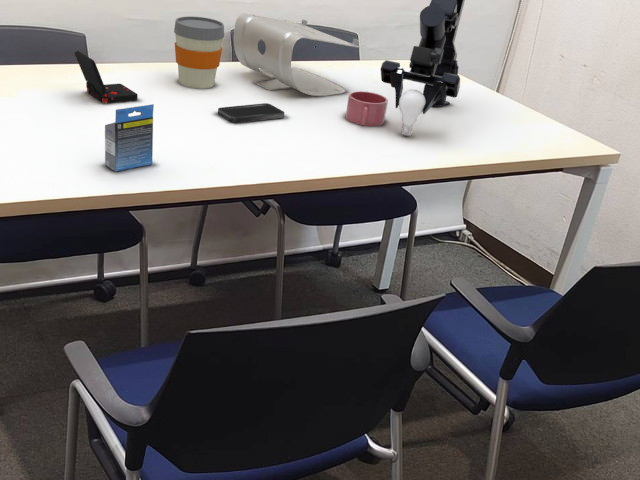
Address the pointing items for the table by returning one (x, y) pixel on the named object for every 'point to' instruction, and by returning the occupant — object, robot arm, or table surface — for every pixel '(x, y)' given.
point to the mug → (366, 108)
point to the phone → (250, 112)
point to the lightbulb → (410, 109)
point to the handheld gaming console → (96, 86)
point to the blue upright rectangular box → (129, 139)
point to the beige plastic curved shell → (281, 53)
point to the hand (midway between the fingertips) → (409, 110)
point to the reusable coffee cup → (198, 50)
